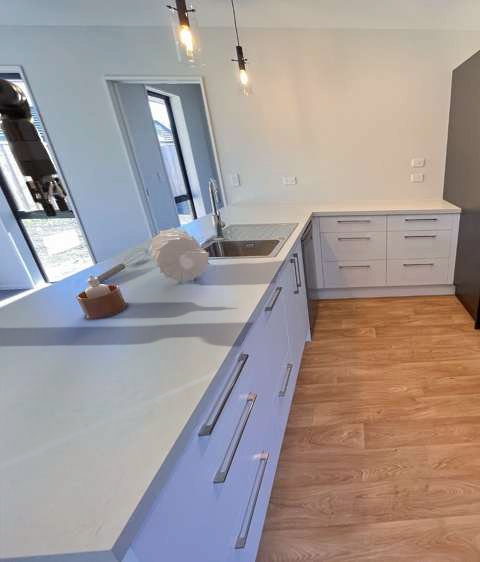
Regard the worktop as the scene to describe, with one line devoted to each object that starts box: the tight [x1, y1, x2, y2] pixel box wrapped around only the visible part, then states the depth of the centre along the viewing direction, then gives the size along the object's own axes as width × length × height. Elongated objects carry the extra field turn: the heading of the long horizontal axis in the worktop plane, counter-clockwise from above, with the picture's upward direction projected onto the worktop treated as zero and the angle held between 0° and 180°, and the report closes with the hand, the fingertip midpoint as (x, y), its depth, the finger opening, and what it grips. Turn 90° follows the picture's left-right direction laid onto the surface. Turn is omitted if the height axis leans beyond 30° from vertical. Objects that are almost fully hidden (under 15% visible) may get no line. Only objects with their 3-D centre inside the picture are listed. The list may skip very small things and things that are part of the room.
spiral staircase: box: [148, 227, 211, 283], centre depth 122 cm, size 18×18×25 cm
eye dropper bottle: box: [84, 274, 110, 298], centre depth 96 cm, size 4×6×12 cm
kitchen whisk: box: [95, 247, 152, 284], centre depth 129 cm, size 6×34×6 cm, turn 2°
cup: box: [76, 284, 127, 320], centre depth 97 cm, size 10×10×7 cm
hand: (59, 213), depth 94 cm, fingers open, 8 cm apart
